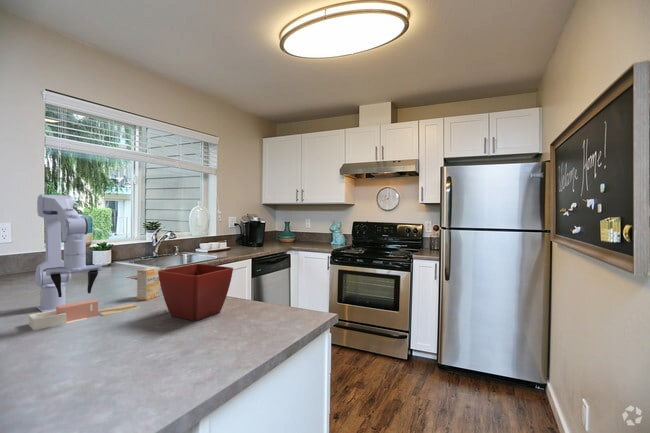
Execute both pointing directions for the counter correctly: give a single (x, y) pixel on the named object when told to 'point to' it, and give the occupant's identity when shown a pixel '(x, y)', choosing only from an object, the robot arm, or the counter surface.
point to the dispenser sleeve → (49, 319)
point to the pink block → (78, 310)
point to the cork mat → (117, 309)
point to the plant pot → (195, 289)
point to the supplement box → (148, 283)
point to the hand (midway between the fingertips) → (74, 294)
